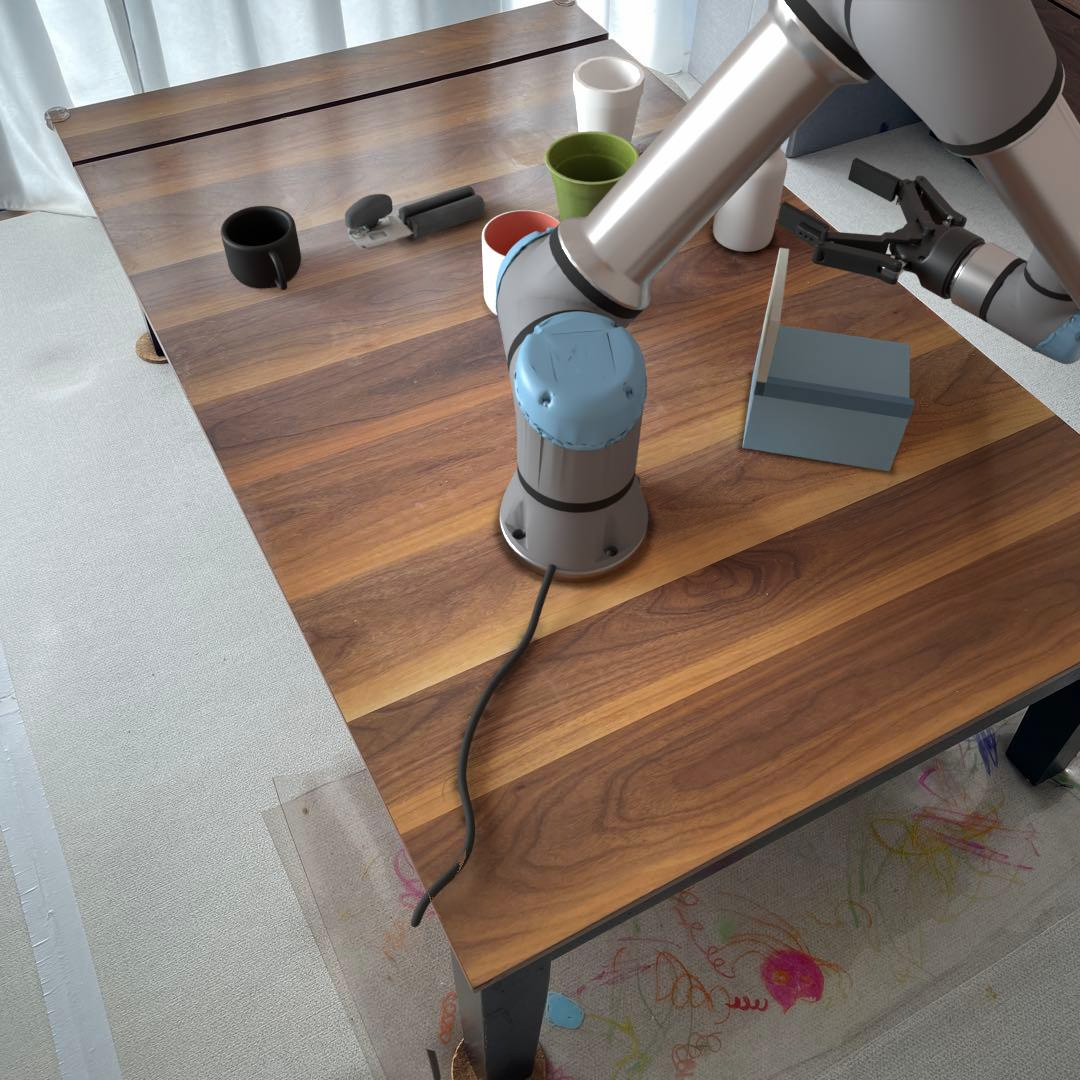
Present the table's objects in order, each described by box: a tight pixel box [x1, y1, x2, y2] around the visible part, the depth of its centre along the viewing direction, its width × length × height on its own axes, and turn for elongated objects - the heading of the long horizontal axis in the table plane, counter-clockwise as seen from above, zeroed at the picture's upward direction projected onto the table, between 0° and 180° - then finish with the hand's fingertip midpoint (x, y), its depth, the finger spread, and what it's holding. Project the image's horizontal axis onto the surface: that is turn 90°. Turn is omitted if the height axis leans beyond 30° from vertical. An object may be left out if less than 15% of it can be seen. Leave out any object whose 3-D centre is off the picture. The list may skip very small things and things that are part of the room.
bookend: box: [741, 247, 915, 472], centre depth 119 cm, size 12×16×18 cm
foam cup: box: [572, 55, 646, 144], centre depth 153 cm, size 10×9×13 cm
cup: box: [481, 209, 561, 317], centre depth 135 cm, size 10×10×10 cm
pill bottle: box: [712, 145, 788, 253], centre depth 142 cm, size 8×8×15 cm
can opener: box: [344, 185, 486, 250], centre depth 145 cm, size 19×5×6 cm, turn 122°
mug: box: [220, 205, 302, 291], centre depth 138 cm, size 12×9×7 cm
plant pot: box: [544, 131, 640, 222], centre depth 143 cm, size 12×12×11 cm
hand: (817, 189), depth 134 cm, fingers open, 13 cm apart
